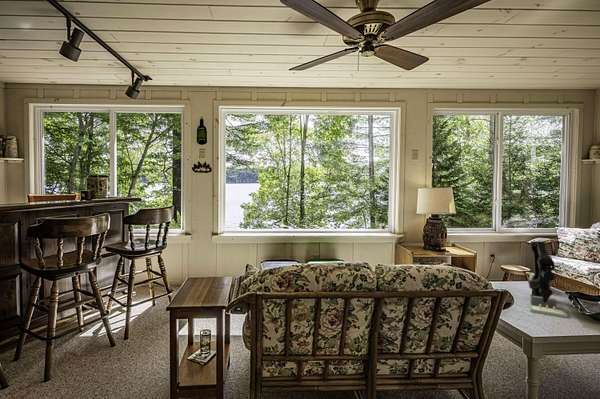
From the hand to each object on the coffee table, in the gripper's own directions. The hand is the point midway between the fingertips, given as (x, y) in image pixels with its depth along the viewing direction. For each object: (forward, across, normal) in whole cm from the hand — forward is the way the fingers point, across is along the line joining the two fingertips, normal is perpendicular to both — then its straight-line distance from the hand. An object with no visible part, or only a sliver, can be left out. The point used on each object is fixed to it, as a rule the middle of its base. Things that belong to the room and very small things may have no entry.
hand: (543, 300), depth 210 cm
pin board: (+3, +13, 0) cm, 14 cm away
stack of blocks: (+4, -43, +4) cm, 43 cm away
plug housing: (+3, 0, 0) cm, 3 cm away
